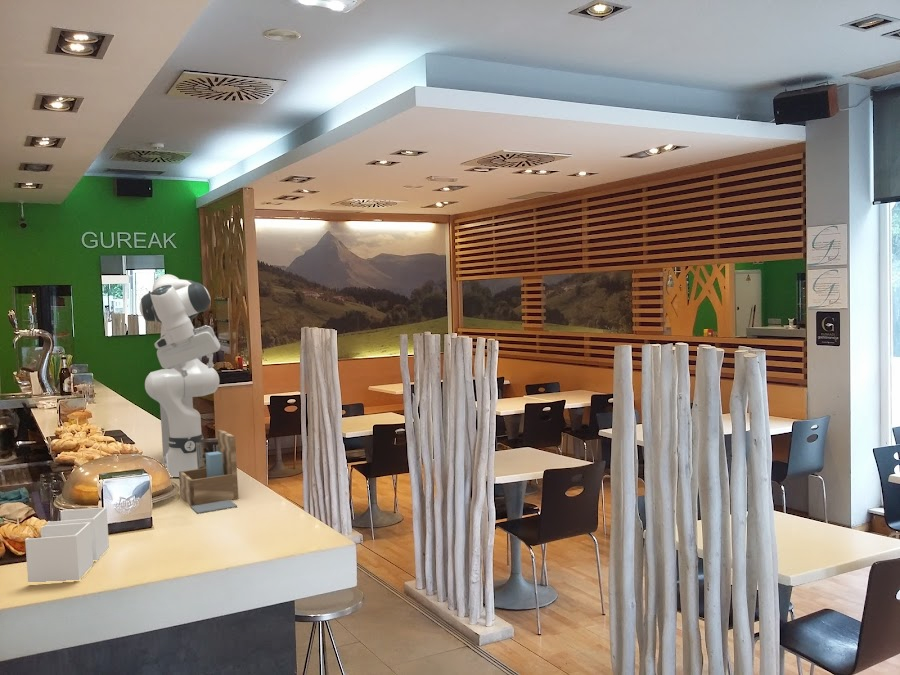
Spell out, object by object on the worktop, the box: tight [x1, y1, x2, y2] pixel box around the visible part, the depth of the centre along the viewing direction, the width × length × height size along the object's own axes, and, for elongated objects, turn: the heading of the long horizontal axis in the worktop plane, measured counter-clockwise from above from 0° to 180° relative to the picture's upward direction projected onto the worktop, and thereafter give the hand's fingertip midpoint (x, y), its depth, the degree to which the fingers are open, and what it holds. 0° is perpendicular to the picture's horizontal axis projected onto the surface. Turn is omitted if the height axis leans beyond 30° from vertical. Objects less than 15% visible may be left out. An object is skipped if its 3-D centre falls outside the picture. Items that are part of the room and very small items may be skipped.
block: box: [206, 451, 223, 478], centre depth 260 cm, size 5×4×10 cm
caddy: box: [178, 429, 239, 507], centre depth 259 cm, size 16×14×20 cm
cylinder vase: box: [159, 397, 194, 457], centre depth 327 cm, size 12×12×25 cm
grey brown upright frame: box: [196, 437, 219, 469], centre depth 274 cm, size 9×6×16 cm
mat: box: [190, 500, 238, 515], centre depth 247 cm, size 9×12×1 cm
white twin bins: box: [24, 506, 110, 583], centre depth 197 cm, size 25×11×11 cm, turn 8°
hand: (198, 371), depth 268 cm, fingers open, 8 cm apart
